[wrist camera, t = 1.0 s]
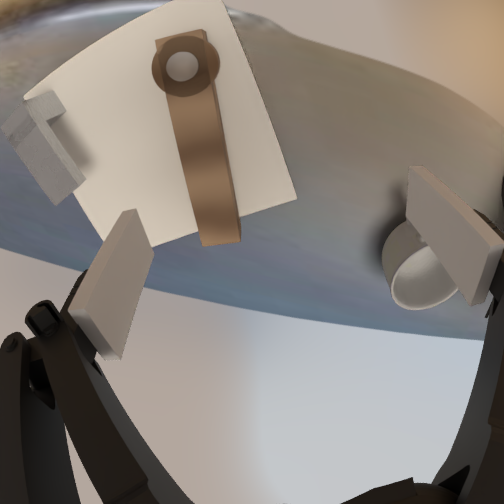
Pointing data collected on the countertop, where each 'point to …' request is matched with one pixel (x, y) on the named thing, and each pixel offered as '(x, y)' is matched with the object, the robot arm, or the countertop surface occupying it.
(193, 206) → the latch
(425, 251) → the teacup
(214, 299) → the countertop surface
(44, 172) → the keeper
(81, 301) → the robot arm
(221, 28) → the base board
